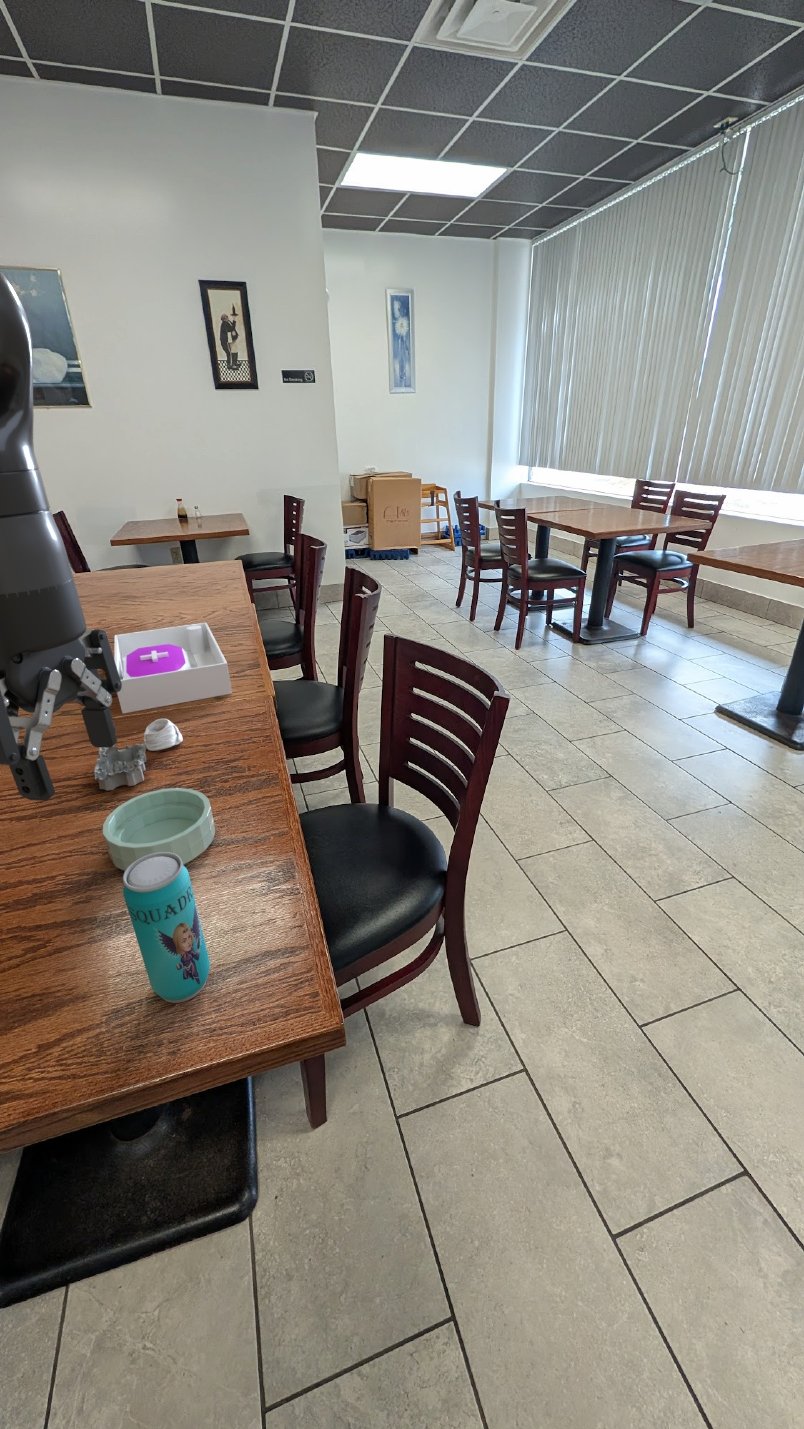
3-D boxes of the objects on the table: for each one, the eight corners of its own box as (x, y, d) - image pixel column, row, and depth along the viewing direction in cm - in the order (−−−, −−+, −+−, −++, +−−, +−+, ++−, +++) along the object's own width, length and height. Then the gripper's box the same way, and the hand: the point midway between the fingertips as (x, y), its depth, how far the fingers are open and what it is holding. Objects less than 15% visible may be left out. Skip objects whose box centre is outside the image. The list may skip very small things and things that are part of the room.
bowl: (96, 883, 74) (86, 851, 72) (130, 820, 87) (122, 791, 85) (205, 873, 76) (198, 842, 73) (223, 812, 88) (218, 784, 86)
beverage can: (181, 1018, 57) (148, 899, 50) (141, 994, 59) (105, 878, 53) (224, 974, 61) (199, 860, 55) (185, 954, 64) (157, 843, 57)
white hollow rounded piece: (188, 751, 107) (186, 728, 105) (149, 759, 104) (146, 735, 102) (178, 732, 113) (175, 709, 111) (140, 739, 110) (137, 715, 108)
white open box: (211, 647, 158) (206, 621, 155) (232, 693, 129) (227, 662, 126) (121, 661, 150) (114, 634, 147) (122, 713, 121) (114, 680, 118)
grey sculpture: (106, 762, 103) (100, 742, 101) (151, 755, 105) (146, 735, 103) (94, 794, 94) (87, 772, 92) (143, 786, 95) (138, 764, 93)
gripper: (35, 560, 50) (86, 730, 57) (-122, 604, 37) (-31, 817, 44) (117, 559, 49) (159, 733, 56) (-15, 604, 36) (60, 822, 43)
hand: (75, 769), depth 50 cm, fingers open, 8 cm apart
